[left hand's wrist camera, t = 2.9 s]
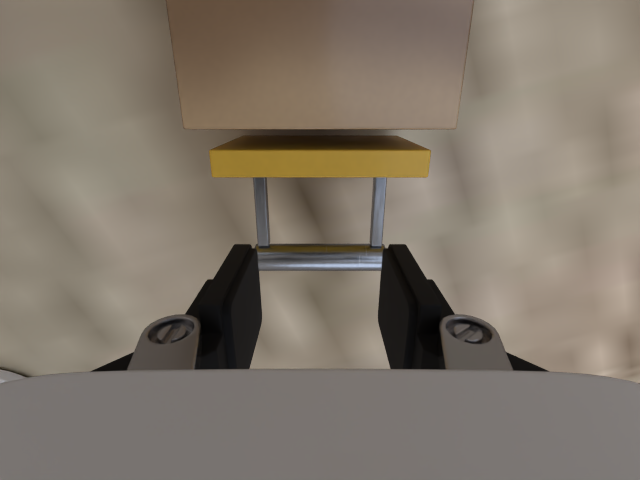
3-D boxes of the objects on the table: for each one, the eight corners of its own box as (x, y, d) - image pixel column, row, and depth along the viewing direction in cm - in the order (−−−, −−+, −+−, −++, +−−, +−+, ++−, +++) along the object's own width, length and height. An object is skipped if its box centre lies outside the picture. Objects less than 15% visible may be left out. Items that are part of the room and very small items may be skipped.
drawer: (389, 239, 24) (415, 290, 17) (250, 239, 24) (224, 289, 17) (431, -292, 15) (518, -595, 8) (208, -292, 15) (121, -596, 8)
